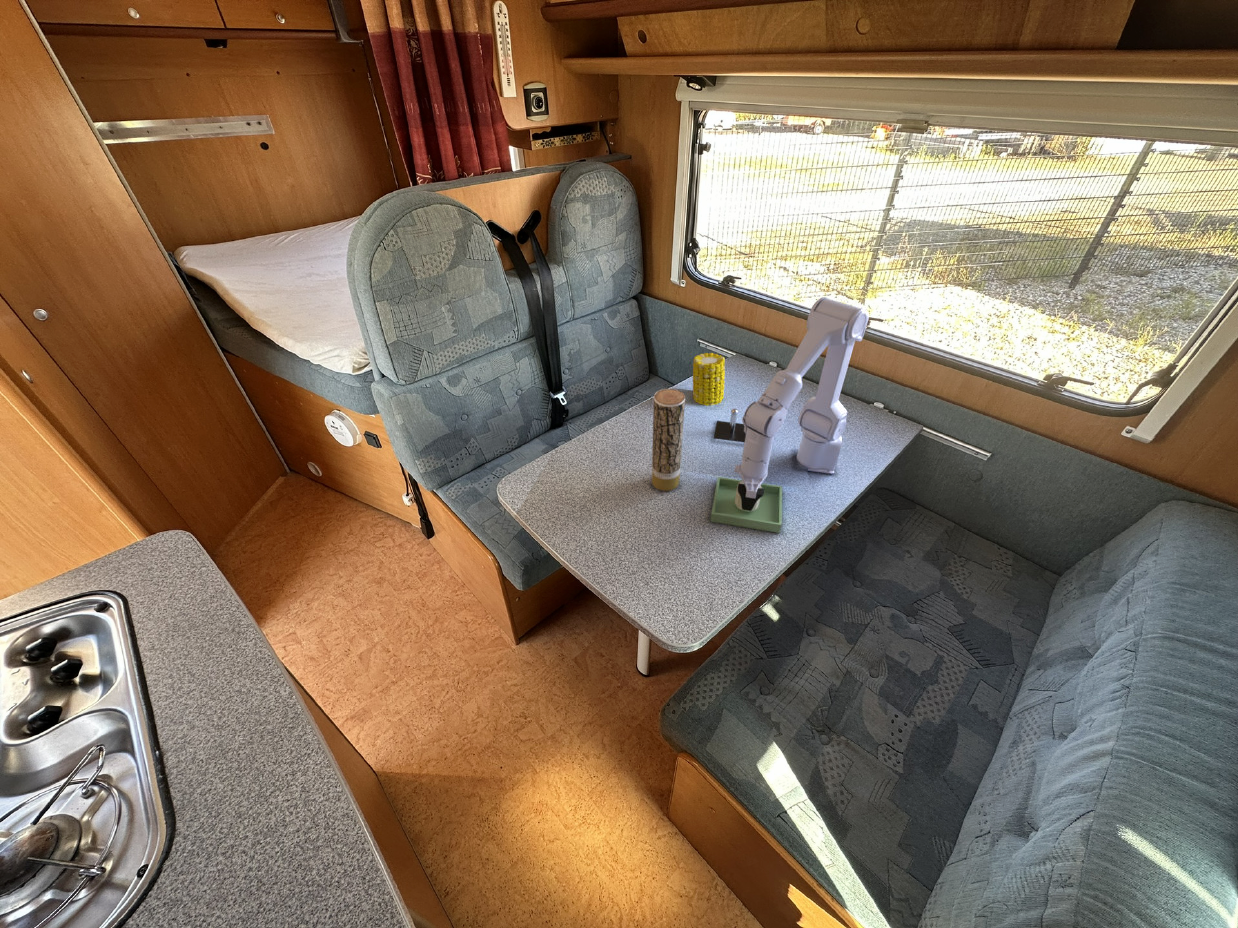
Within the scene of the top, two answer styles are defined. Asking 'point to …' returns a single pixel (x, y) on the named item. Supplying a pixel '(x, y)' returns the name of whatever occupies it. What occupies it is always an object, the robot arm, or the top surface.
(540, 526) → the top surface
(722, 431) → the stand
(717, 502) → the tray
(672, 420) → the bark log
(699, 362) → the food
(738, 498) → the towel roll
